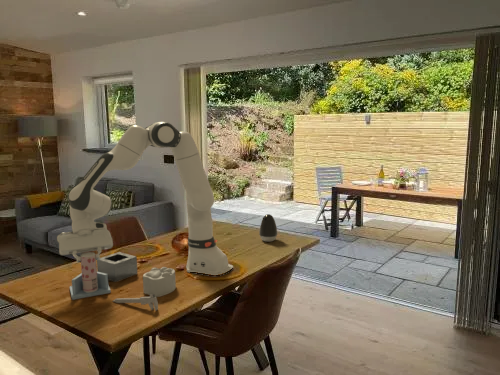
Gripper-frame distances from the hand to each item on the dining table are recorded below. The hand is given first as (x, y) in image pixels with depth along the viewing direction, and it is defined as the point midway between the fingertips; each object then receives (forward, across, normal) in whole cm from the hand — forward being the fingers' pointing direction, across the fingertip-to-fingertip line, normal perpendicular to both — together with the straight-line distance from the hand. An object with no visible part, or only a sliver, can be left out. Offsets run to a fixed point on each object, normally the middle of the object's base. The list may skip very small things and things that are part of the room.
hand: (88, 260), depth 169 cm
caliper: (+24, +13, -3) cm, 27 cm away
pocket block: (-1, +13, +21) cm, 25 cm away
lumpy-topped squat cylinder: (+16, +26, +4) cm, 31 cm away
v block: (+8, 0, +12) cm, 14 cm away
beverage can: (+9, 0, +10) cm, 13 cm away
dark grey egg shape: (-12, +98, +32) cm, 104 cm away
